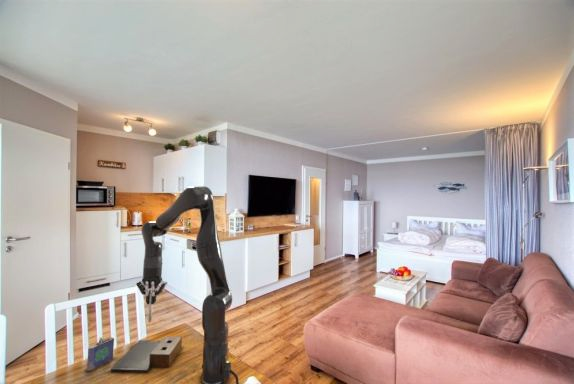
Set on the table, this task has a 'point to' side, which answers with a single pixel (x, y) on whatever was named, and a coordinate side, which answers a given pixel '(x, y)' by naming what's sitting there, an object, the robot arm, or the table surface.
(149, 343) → the tablet
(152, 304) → the stylus
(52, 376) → the table surface
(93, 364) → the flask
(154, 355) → the pen stand
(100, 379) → the table surface
